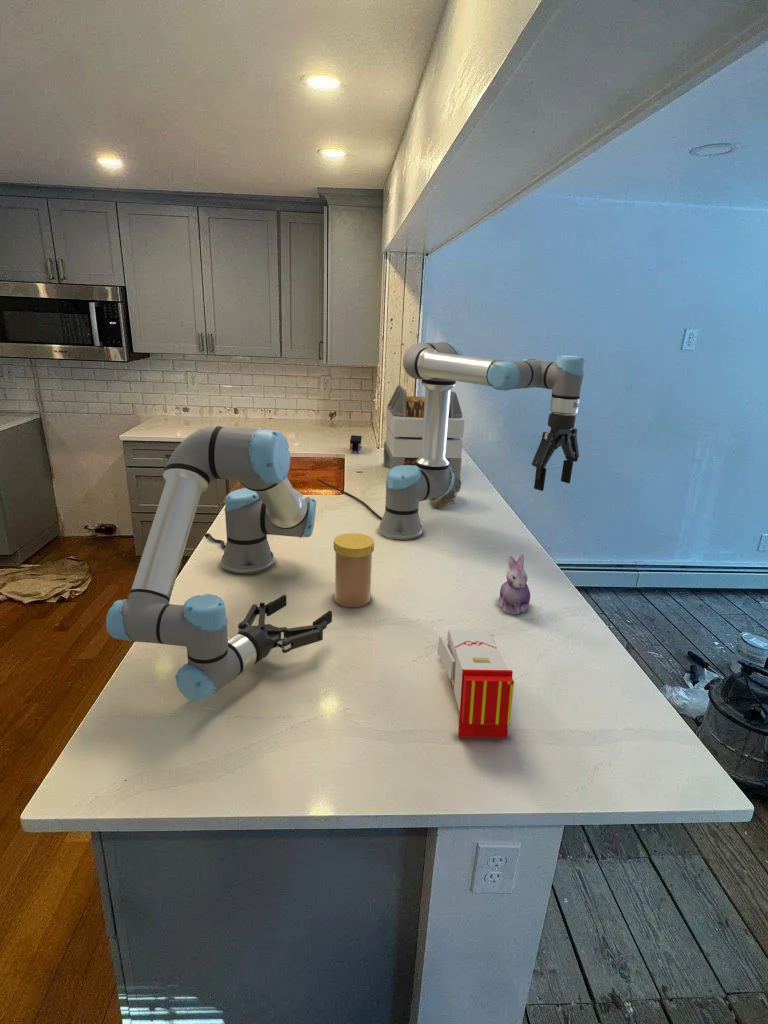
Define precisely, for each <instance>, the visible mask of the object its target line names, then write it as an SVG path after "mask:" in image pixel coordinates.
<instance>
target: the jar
mask: <svg viewBox="0 0 768 1024" xmlns="http://www.w3.org/2000/svg"><path fill="white" fill-rule="evenodd" d="M334 555H335V558H334V560H335V561H334V563H335V564H334V567H335V568H334V601H335V602H336V603H337V604H339V605H340V606H343V607H346V608H347V607H348V608H359V607H363V606H365V605H367V604H369V602H370V601H371V589H372V588H371V586H372V585H371V584H372V564H373V563H372V561H373V552H372V553H371V554H369V555H367V556H363V557H346V556H342V555H339V554H338V553H336V552H335V554H334Z"/></svg>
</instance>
